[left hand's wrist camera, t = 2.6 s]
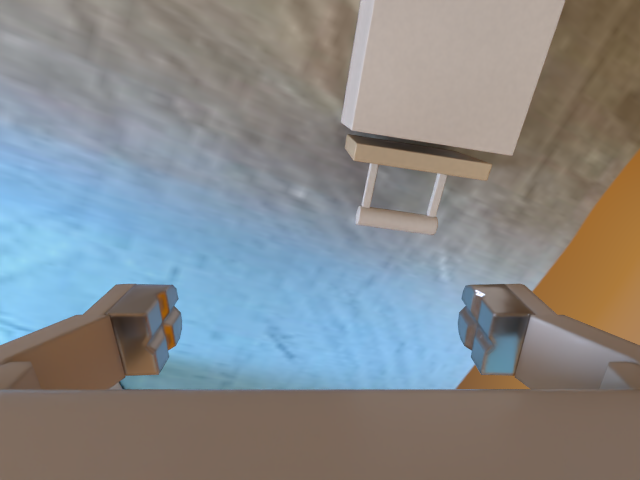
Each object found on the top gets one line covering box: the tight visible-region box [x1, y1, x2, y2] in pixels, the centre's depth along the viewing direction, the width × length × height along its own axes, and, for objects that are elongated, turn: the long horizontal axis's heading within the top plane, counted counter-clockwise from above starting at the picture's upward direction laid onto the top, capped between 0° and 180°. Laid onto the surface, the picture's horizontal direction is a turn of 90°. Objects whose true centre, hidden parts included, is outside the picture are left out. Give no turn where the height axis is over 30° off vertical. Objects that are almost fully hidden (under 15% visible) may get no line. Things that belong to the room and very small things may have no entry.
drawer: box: [345, 134, 492, 235], centre depth 25 cm, size 26×10×7 cm, turn 171°
